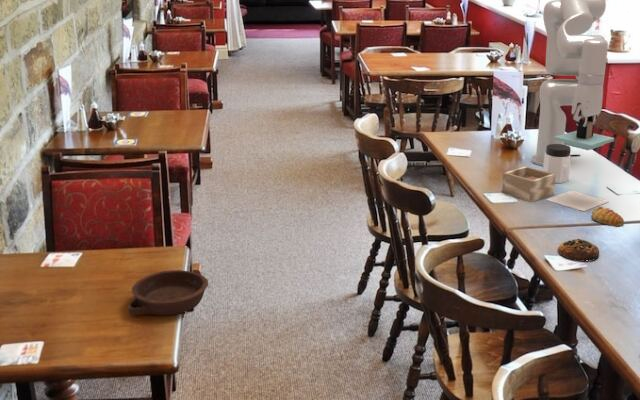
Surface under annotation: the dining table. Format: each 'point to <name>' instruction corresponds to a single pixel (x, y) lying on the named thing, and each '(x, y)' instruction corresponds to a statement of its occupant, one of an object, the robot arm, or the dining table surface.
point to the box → (528, 183)
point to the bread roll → (578, 250)
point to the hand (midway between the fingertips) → (584, 136)
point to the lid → (586, 143)
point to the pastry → (607, 216)
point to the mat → (577, 201)
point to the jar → (558, 161)
